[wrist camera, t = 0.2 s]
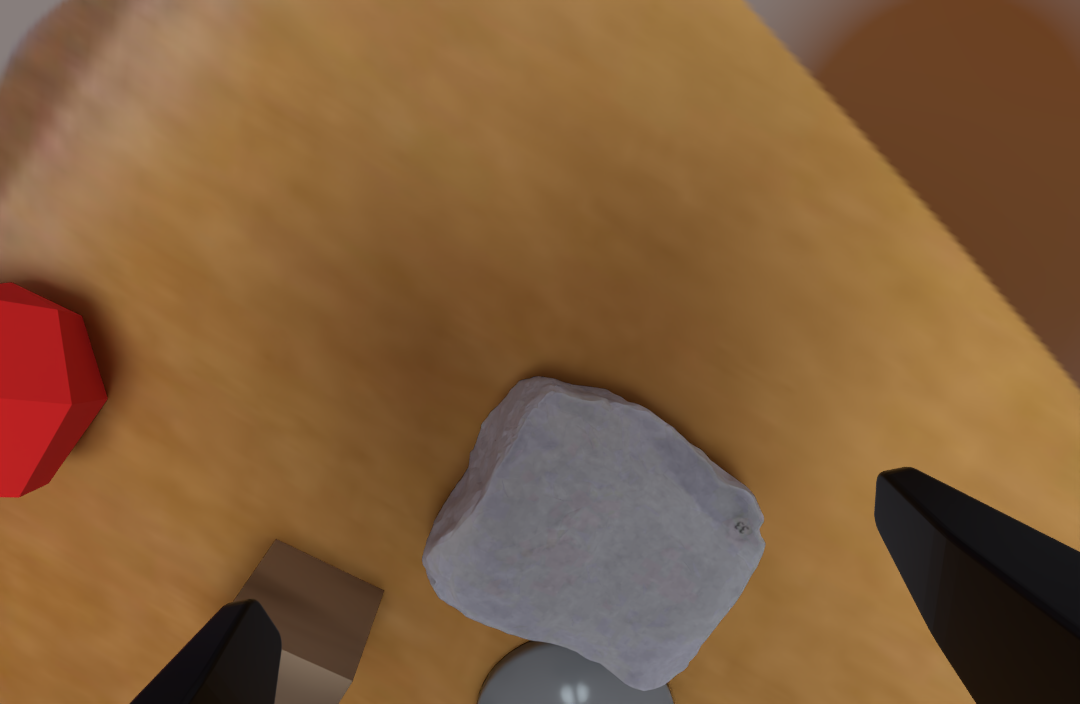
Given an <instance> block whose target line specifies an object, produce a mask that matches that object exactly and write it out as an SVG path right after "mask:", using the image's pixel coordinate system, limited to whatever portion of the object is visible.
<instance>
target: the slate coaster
mask: <svg viewBox="0 0 1080 704" xmlns="http://www.w3.org/2000/svg"><path fill="white" fill-rule="evenodd" d="M477 704H674V703H673V699H672V696H671V692H670V689H669V686H668V683H666V684H665V685H663V686H661V687H658V688H656V689H652V690H647V691H642V690H638V689H635V688H632V687H630V686H628V685H626V684H625V683H623V682H622V681H621V680H620V679H619V678H618V677H616V676H615V675H614V674H613V673H611V672H610V671H609V670H607V669H606V668H605V667H604V666H603V665H601V664H600V663H597V662H594V661H590V660H588V659H587V658H585V657H583V656H582V655H580V654H579V653H577V652H575V651H573V650H570V649H568V648H565V647H562V646H559V645H555V644H551V643H547V642H540V641H530V642H528V643H525V644H524V645H522V646H520V647H518V648H516V649H515V650H513V651H512V652H510V653H509V654H508V655H506V656H505V657H504V658H503V659H502V660H501V661H500V662H498V663H497V664H496V666H495V667H494V668H493V669H492V670H491V672H490V673H489V674H488V676H487V678H486V679H485V681H484V683H483V685H482V688H481V690H480V693H479V697H478V701H477Z"/></svg>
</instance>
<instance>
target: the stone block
mask: <svg viewBox="0 0 1080 704" xmlns="http://www.w3.org/2000/svg"><path fill="white" fill-rule="evenodd" d="M763 522H764V516H763V514H762V512H761V510H760V507H759V505H758V503H757V500H756V498H755V496H754V494H753V493H752V492H751V491H750V490H749V489H748V488H747V487H746V486H745V485H744V484H742V483H741V482H739V481H738V480H737V479H735V478H734V477H733V476H731V475H730V474H728V473H727V472H725V471H724V470H723V469H721V468H720V467H719V466H718V465H716V464H715V463H714V462H712V461H711V460H710V459H709V458H708V457H707V455H706V454H705V453H704V452H703V451H702V450H701V449H700V448H697V447H695V446H694V445H692V444H691V443H689V442H688V441H687V440H686V439H685V438H684V437H683V436H682V435H681V434H679V433H678V432H677V431H676V430H675V428H674V427H672V426H670V425H669V424H667V423H665V422H664V421H663V420H662V419H660V418H659V417H658V416H656V415H655V414H654V413H652V412H651V411H650V410H648V409H647V408H645V407H643V406H641V405H638V404H636V403H632V402H627V401H626V400H625V399H623V398H622V397H621V396H618V395H615V394H613V393H612V392H610V391H609V390H607V389H602V388H595V387H588V386H580V385H572V384H569V383H565V382H562V381H559V380H557V379H553V378H546V377H540V376H539V377H532V378H530V379H524V380H520V381H519V382H518V383H517V384H516V385H515V386H514V387H513V388H512V389H511V390H510V391H509V393H508V394H507V396H506V397H505V398H504V399H503V400H502V402H501V403H500V404H499V405H498V406H497V407H496V408H495V409H493V410H492V411H491V412H490V414H489V415H488V417H487V418H486V419H485V420H484V422H483V423H482V425H481V430H480V433H479V435H478V438H477V442H476V444H475V446H474V449H473V450H472V451H471V452H470V460H469V467H468V469H467V470H466V472H465V473H464V475H463V477H462V479H461V480H460V481H459V482H458V483H457V484H456V487H455V489H454V490H453V491H452V492H451V494H450V496H449V498H448V499H447V501H446V502H445V504H444V505H443V507H442V509H441V510H440V512H439V514H438V516H437V517H436V519H435V521H434V524H433V527H432V530H431V532H430V534H429V537H428V538H427V542H426V546H425V549H424V553H423V556H422V562H423V565H424V567H425V568H426V572H427V575H428V579H429V580H430V584H431V585H432V587H433V589H434V591H435V592H436V594H437V596H438V597H439V598H440V599H442V600H443V601H445V602H446V603H447V604H449V605H451V606H453V607H455V608H456V609H458V610H459V611H460V612H462V613H463V614H464V615H465V616H466V617H468V618H470V619H473V620H475V621H478V622H480V623H482V624H484V625H486V626H489V627H493V628H496V629H499V630H501V631H503V632H505V633H507V634H511V635H516V636H519V637H521V638H524V639H528V640H532V641H540V642H547V643H551V644H555V645H559V646H562V647H565V648H568V649H570V650H573V651H575V652H577V653H579V654H580V655H582V656H583V657H585V658H587V659H588V660H590V661H594V662H597V663H600V664H601V665H603V666H604V667H605V668H606V669H607V670H609V671H610V672H611V673H613V674H614V675H615V676H616V677H618V678H619V679H620V680H621V681H622V682H623V683H625V684H626V685H628V686H630V687H632V688H635V689H638V690H642V691H647V690H652V689H656V688H658V687H661V686H663V685H665V684H666V683H667V682H669V681H670V680H671V679H672V678H673V677H674V676H676V675H677V674H678V673H680V672H682V671H684V669H685V668H686V667H687V666H688V664H689V661H691V660H692V659H693V657H694V656H695V655H696V654H697V653H698V651H699V649H700V647H701V645H702V644H703V643H704V642H705V641H706V639H707V638H708V637H709V635H710V634H711V633H712V631H713V630H714V629H715V628H716V627H717V625H718V624H719V622H720V621H721V620H722V619H723V617H724V616H725V615H726V614H727V613H728V612H729V610H730V609H731V607H732V606H733V605H734V604H735V602H736V601H737V599H738V598H739V596H740V595H741V593H742V592H743V590H744V588H745V586H746V585H747V583H748V581H749V579H750V577H751V575H752V574H753V572H754V571H755V569H756V568H757V566H758V563H759V561H760V558H761V556H762V554H763V552H764V548H765V542H764V539H763V538H762V537H761V534H760V531H759V528H760V527H761V525H762V524H763Z"/></svg>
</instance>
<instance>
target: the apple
mask: <svg viewBox="0 0 1080 704" xmlns="http://www.w3.org/2000/svg"><path fill="white" fill-rule="evenodd" d="M107 399H108V398H107V395H106V391H105V388H104V385H103V382H102V378H101V375H100V372H99V369H98V366H97V362H96V359H95V356H94V353H93V350H92V346H91V343H90V340H89V337H88V334H87V330H86V327H85V324H84V321H83V318H82V316H81V315H79V314H77V313H75V312H73V311H71V310H69V309H67V308H64V307H62V306H60V305H58V304H56V303H54V302H52V301H50V300H48V299H45V298H43V297H41V296H39V295H37V294H35V293H33V292H31V291H29V290H27V289H24V288H22V287H20V286H18V285H16V284H14V283H12V282H10V283H0V497H21V496H23V495H25V494H27V493H29V492H31V491H33V490H36V489H38V488H40V487H42V486H44V485H46V484H48V483H49V482H50V481H51V479H52V478H53V476H54V475H55V473H56V472H57V471H58V469H59V468H60V466H61V465H62V463H63V462H64V461H65V459H66V458H67V456H68V455H69V453H70V452H71V451H72V449H73V448H74V446H75V445H76V443H77V442H78V441H79V439H80V438H81V436H82V435H83V433H84V432H85V431H86V429H87V428H88V426H89V425H90V424H91V422H92V421H93V419H94V418H95V416H96V415H97V414H98V412H99V411H100V409H101V408H102V406H103V405H104V404H105V402H106V401H107Z"/></svg>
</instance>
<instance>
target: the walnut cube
mask: <svg viewBox="0 0 1080 704" xmlns="http://www.w3.org/2000/svg"><path fill="white" fill-rule="evenodd" d="M383 592H384V590H382V589H380V588H378V587H375V586H373V585H371V584H369V583H367V582H365V581H363V580H361V579H359V578H357V577H354V576H352V575H350V574H348V573H346V572H344V571H342V570H340V569H338V568H336V567H334V566H331V565H329V564H327V563H325V562H323V561H321V560H319V559H317V558H315V557H313V556H311V555H308V554H306V553H304V552H302V551H300V550H298V549H296V548H294V547H292V546H290V545H287V544H285V543H283V542H281V541H279V540H277V539H276V540H275V541H274V543H273V544H272V546H271V547H270V549H269V550H268V552H267V553H266V554H265V556H264V557H263V559H262V560H261V562H260V563H259V565H258V566H257V568H256V569H255V570H254V572H253V573H252V575H251V576H250V578H249V579H248V581H247V582H246V584H245V585H244V586H243V588H242V589H241V591H240V592H239V594H238V595H237V597H236V598H235V600H234V601H233V602H236V601H240V600H245V599H255V600H257V601H259V602H260V604H261V605H262V606H263V608H264V609H265V611H266V612H267V614H268V615H269V617H270V618H271V620H272V621H273V623H274V624H275V626H276V627H277V629H278V631H279V633H280V636H281V640H282V652H281V659H280V667H279V674H278V681H277V689H276V696H275V704H339V702H340V700H341V699H342V697H343V696H344V694H345V692H346V691H347V689H348V688H349V686H350V684H351V683H352V681H353V678H354V676H355V673H356V670H357V667H358V664H359V661H360V658H361V656H362V653H363V650H364V647H365V644H366V641H367V638H368V635H369V633H370V630H371V627H372V624H373V621H374V618H375V615H376V612H377V610H378V607H379V604H380V601H381V598H382V595H383Z"/></svg>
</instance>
